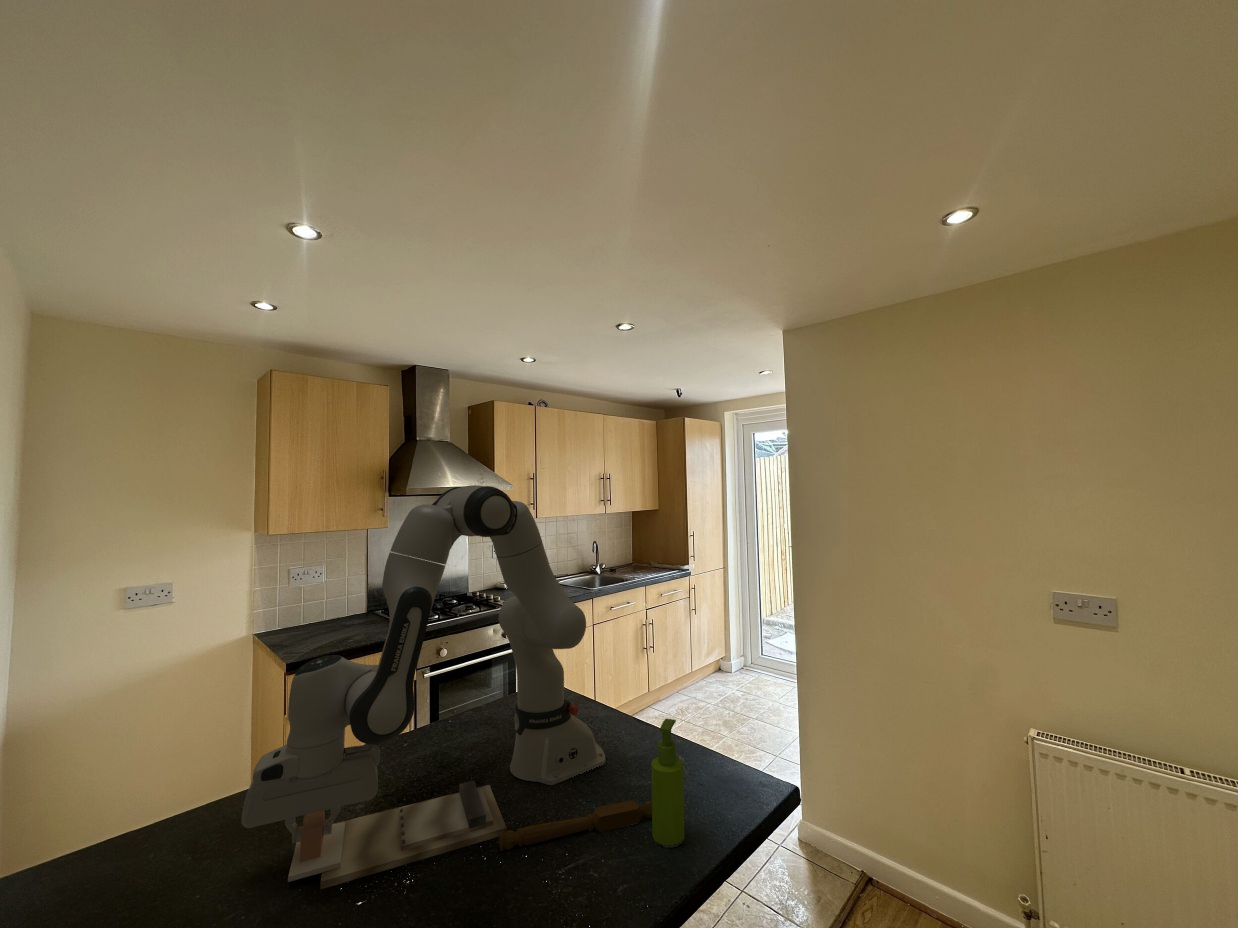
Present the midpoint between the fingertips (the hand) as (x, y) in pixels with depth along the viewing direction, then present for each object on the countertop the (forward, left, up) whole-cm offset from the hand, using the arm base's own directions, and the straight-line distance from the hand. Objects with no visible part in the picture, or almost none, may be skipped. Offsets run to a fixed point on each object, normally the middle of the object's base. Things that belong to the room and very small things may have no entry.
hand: (312, 836), depth 87 cm
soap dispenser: (-59, +22, -4) cm, 63 cm away
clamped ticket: (-17, 0, -4) cm, 17 cm away
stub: (-1, 0, -3) cm, 3 cm away
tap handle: (-45, +13, -5) cm, 47 cm away
